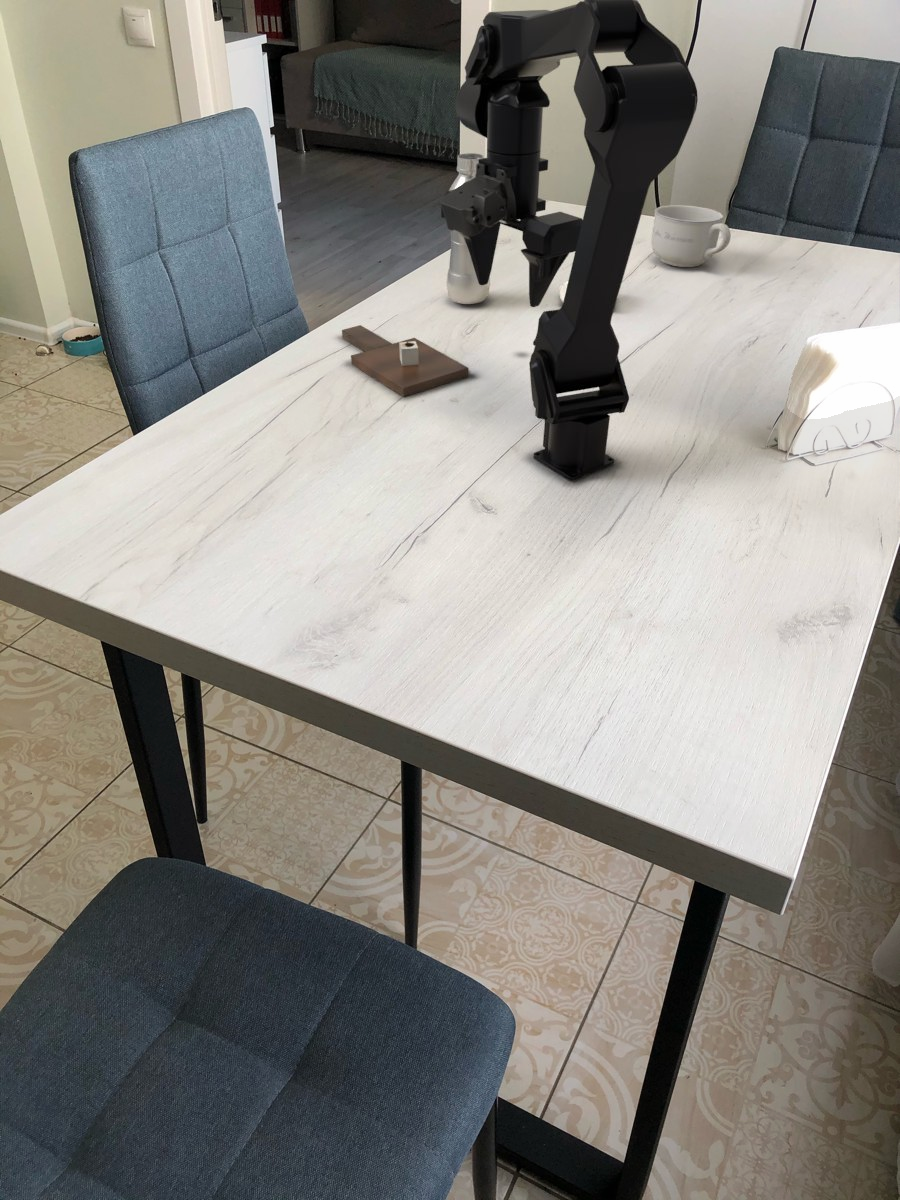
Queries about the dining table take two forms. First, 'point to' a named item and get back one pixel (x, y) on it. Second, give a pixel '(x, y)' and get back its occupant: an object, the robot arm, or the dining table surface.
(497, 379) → the dining table surface
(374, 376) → the paddle
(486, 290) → the silver bottle
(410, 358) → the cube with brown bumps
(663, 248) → the teacup
